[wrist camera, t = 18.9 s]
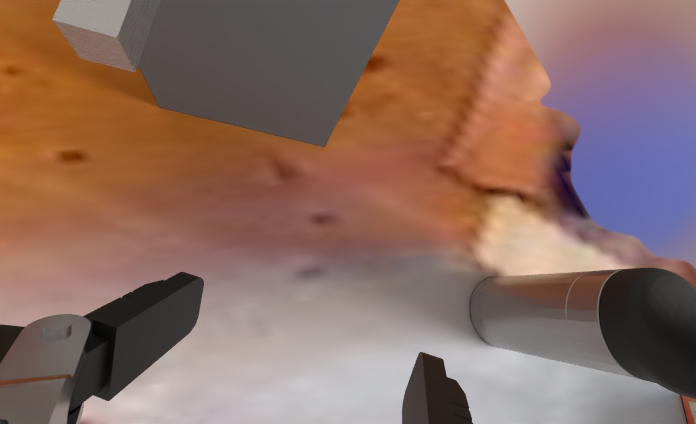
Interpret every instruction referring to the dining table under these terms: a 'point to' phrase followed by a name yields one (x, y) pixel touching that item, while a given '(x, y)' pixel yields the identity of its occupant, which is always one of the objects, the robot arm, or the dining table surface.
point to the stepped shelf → (263, 60)
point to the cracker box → (690, 409)
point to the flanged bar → (107, 29)
